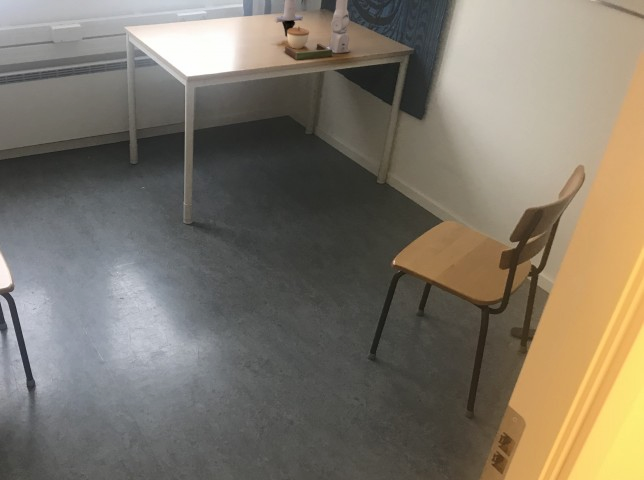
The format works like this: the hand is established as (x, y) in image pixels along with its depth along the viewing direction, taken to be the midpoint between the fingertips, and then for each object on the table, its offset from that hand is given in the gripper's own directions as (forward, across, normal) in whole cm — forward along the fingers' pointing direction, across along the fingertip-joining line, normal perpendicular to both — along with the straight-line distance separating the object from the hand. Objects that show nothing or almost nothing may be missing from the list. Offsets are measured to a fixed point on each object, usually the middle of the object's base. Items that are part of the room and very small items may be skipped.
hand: (287, 36), depth 355 cm
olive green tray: (+2, 0, +23) cm, 23 cm away
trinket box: (+2, 0, +11) cm, 11 cm away
